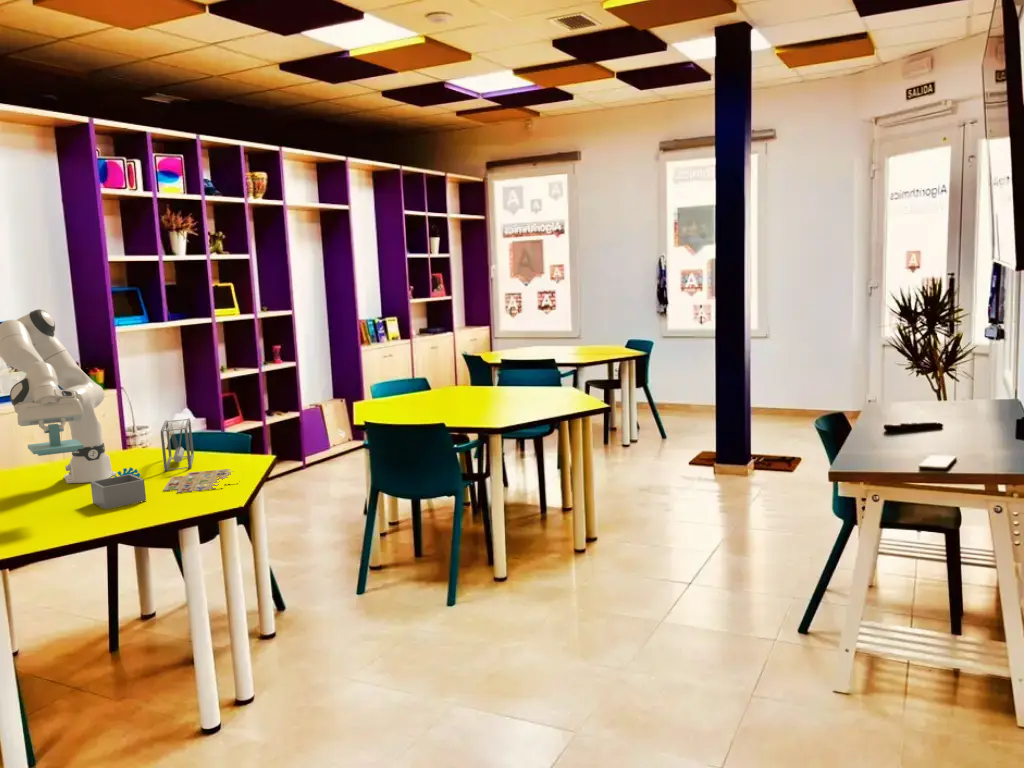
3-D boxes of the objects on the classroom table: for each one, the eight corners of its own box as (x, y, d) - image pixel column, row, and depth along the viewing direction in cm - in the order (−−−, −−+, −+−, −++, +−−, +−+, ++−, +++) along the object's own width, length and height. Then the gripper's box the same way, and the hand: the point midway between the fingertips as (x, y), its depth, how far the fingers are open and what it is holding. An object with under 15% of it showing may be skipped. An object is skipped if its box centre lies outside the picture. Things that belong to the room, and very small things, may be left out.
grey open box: (92, 503, 307) (90, 481, 306) (133, 495, 316) (130, 474, 315) (105, 509, 296) (102, 487, 295) (146, 501, 306) (143, 479, 305)
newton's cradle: (191, 469, 356) (187, 427, 353) (164, 472, 352) (160, 430, 350) (194, 455, 384) (190, 417, 381) (169, 458, 381) (165, 419, 378)
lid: (28, 450, 293) (25, 424, 292) (76, 445, 301) (74, 419, 300) (33, 457, 281) (31, 429, 280) (83, 451, 289) (81, 424, 288)
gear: (108, 487, 323) (118, 465, 329) (113, 495, 328) (124, 473, 334) (135, 490, 322) (145, 468, 328) (141, 498, 327) (151, 476, 333)
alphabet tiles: (160, 496, 313) (160, 493, 313) (173, 476, 345) (173, 473, 345) (238, 488, 320) (238, 485, 320) (244, 469, 352) (244, 466, 352)
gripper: (13, 397, 288) (19, 429, 282) (79, 391, 300) (87, 422, 294) (13, 408, 293) (19, 440, 286) (78, 402, 304) (85, 433, 298)
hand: (54, 431), depth 290 cm, fingers closed on lid, 3 cm apart
